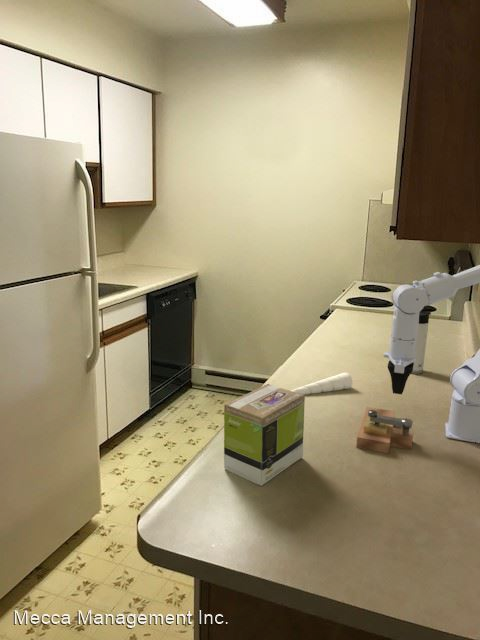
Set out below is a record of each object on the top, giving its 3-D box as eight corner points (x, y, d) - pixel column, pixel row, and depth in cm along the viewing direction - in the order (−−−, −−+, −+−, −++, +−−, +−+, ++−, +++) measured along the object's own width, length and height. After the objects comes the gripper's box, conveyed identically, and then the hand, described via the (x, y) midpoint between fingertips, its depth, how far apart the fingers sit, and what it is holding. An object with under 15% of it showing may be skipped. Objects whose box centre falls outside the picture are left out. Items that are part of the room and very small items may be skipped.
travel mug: (425, 375, 160) (432, 314, 155) (403, 373, 161) (410, 312, 156) (422, 368, 166) (429, 310, 161) (401, 366, 167) (407, 308, 162)
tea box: (265, 443, 113) (268, 381, 109) (303, 458, 107) (307, 394, 103) (221, 469, 102) (223, 402, 98) (261, 488, 96) (264, 417, 92)
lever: (412, 425, 114) (413, 416, 113) (411, 429, 112) (412, 420, 111) (368, 417, 117) (369, 408, 117) (366, 421, 115) (367, 412, 115)
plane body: (413, 423, 125) (415, 407, 124) (410, 457, 108) (412, 439, 107) (366, 415, 129) (367, 400, 128) (356, 447, 112) (357, 429, 111)
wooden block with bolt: (388, 425, 118) (389, 418, 117) (386, 436, 112) (386, 428, 112) (366, 421, 119) (367, 414, 119) (363, 432, 114) (364, 424, 114)
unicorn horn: (271, 393, 142) (272, 377, 141) (344, 385, 150) (345, 370, 149) (278, 399, 138) (279, 383, 137) (352, 390, 146) (354, 375, 145)
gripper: (388, 327, 123) (383, 379, 126) (382, 343, 110) (377, 400, 113) (418, 331, 121) (412, 384, 124) (416, 347, 107) (409, 406, 111)
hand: (397, 392), depth 118 cm, fingers closed
